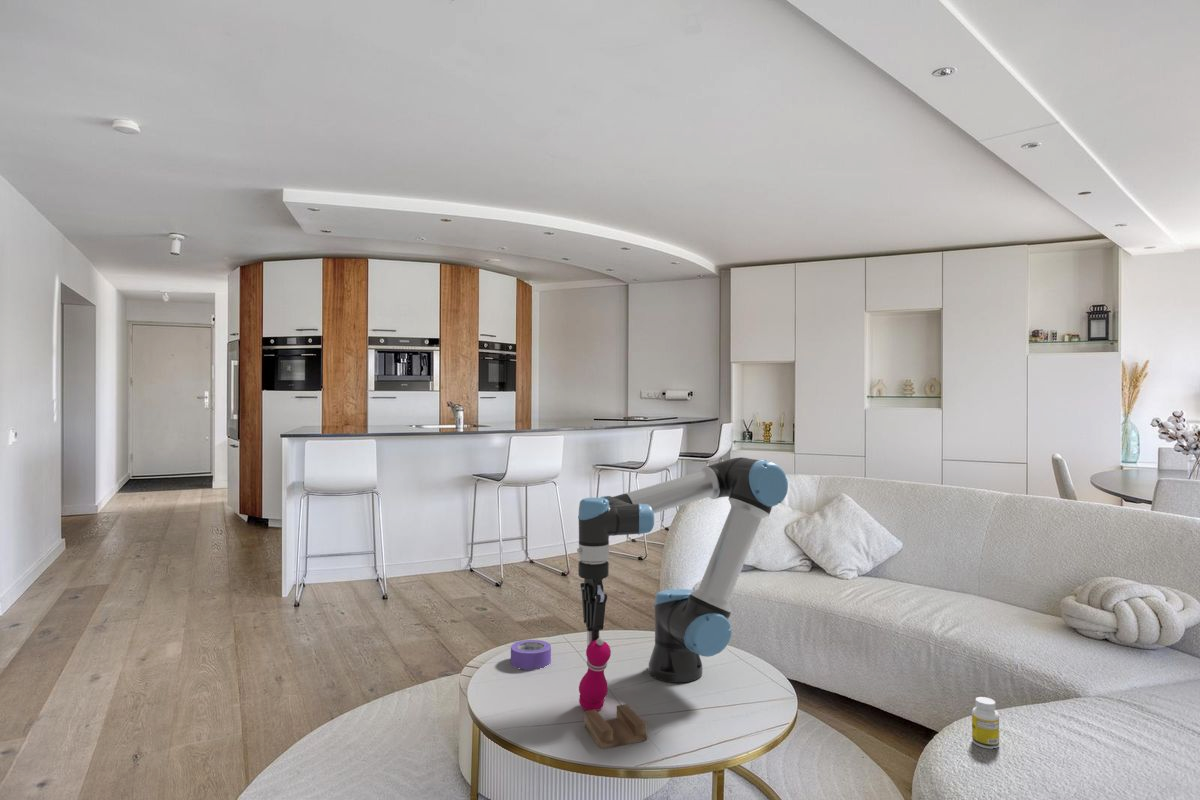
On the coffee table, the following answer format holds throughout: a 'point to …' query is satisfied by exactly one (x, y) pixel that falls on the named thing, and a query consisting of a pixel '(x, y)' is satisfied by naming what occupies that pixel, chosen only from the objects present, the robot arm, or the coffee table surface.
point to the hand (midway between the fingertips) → (593, 655)
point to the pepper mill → (595, 676)
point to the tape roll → (530, 654)
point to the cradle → (615, 727)
